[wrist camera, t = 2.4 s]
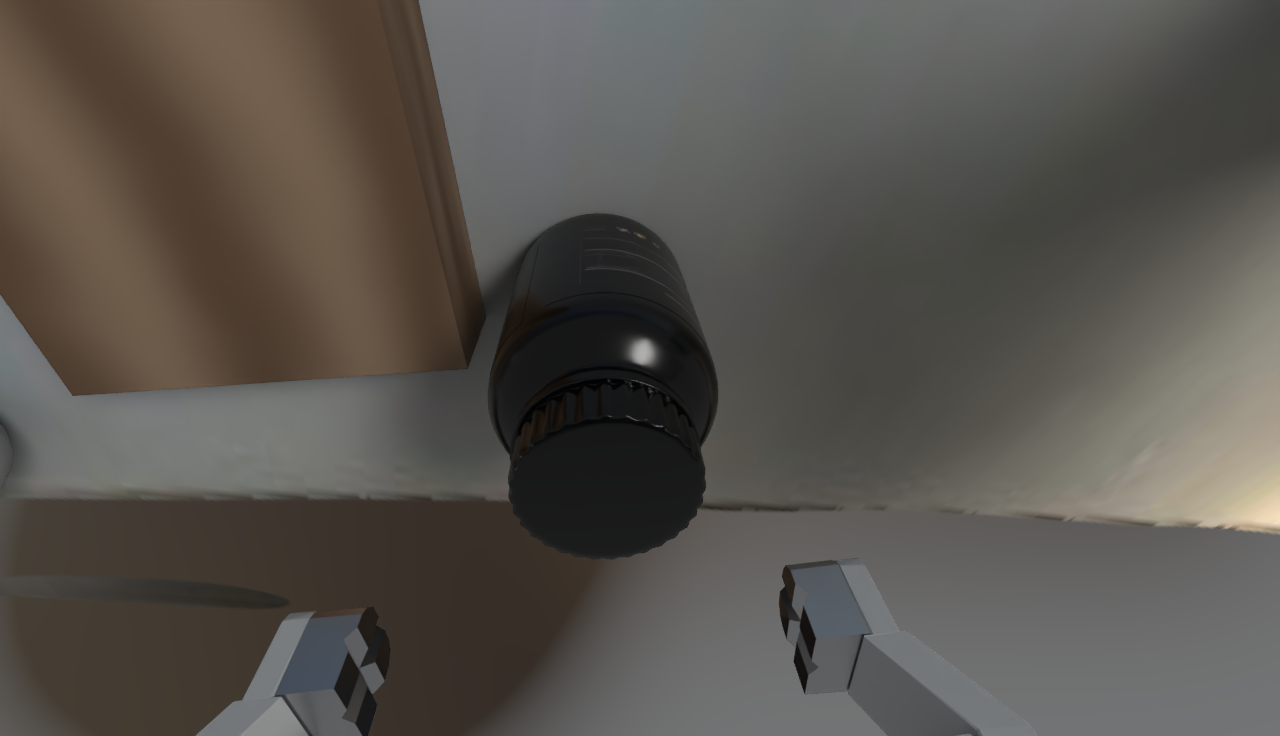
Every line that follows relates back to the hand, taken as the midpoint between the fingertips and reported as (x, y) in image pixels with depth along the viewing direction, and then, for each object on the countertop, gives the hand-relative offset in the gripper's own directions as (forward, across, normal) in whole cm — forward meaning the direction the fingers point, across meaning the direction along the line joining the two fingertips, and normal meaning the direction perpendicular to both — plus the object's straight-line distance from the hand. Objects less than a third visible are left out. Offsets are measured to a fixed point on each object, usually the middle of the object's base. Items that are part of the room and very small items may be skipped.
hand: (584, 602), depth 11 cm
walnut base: (+15, +11, -6) cm, 20 cm away
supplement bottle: (+15, -1, 0) cm, 15 cm away
